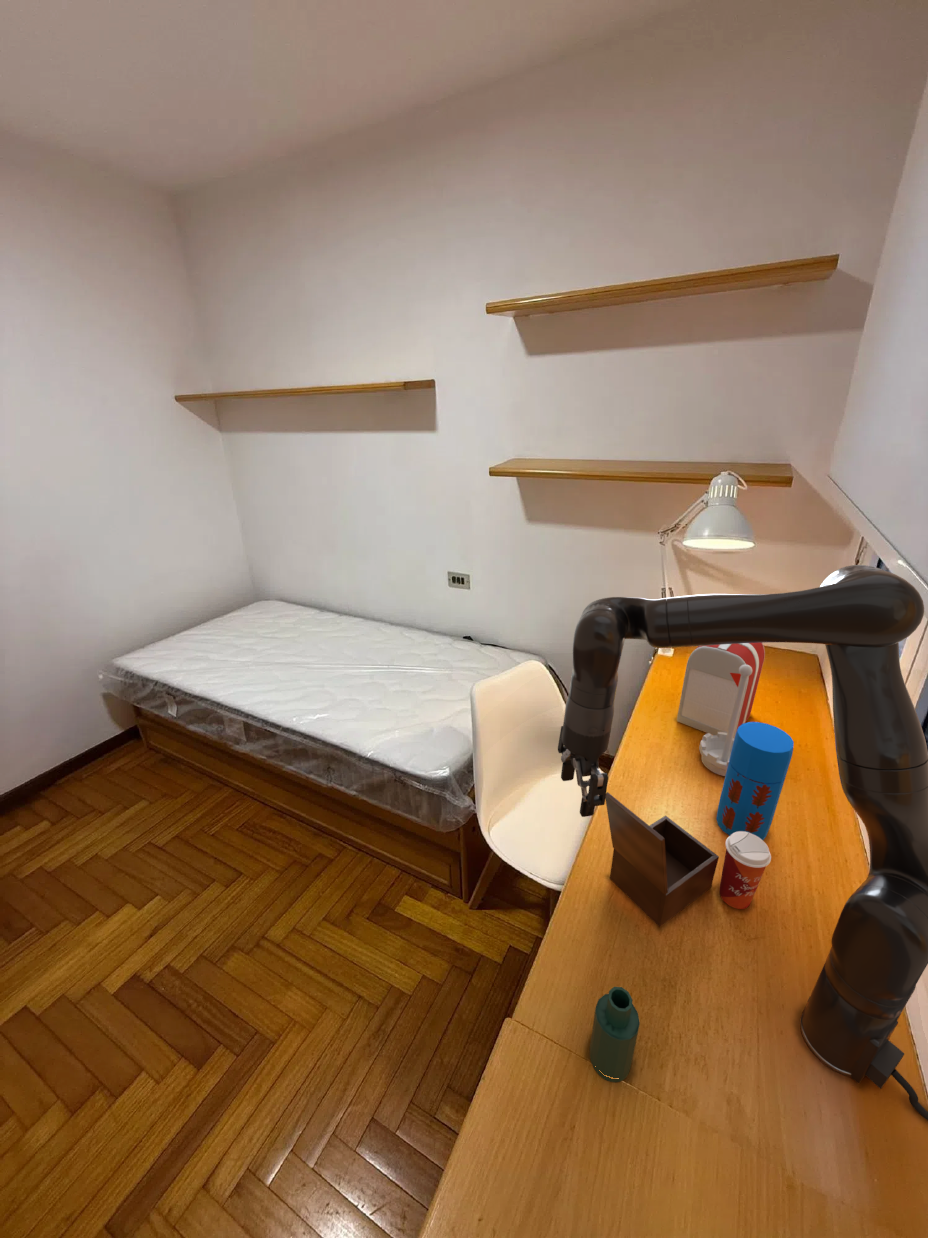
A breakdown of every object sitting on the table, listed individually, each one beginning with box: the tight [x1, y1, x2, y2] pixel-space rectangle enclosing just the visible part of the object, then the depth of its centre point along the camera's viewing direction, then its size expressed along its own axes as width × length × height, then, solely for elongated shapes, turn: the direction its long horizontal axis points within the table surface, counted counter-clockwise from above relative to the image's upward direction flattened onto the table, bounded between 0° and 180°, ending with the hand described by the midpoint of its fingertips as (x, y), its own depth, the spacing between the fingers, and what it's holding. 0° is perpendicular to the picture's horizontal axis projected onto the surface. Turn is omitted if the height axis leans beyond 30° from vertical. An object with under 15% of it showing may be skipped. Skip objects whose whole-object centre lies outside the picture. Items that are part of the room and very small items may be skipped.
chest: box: [609, 815, 720, 928], centre depth 104 cm, size 16×13×9 cm
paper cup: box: [718, 831, 772, 910], centre depth 100 cm, size 8×8×14 cm
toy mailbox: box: [676, 643, 766, 739], centre depth 151 cm, size 16×18×27 cm
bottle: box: [589, 986, 641, 1083], centre depth 75 cm, size 6×6×15 cm
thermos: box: [715, 721, 795, 841], centre depth 114 cm, size 11×11×25 cm
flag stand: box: [698, 665, 752, 777], centre depth 132 cm, size 13×13×30 cm
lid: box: [605, 791, 668, 895], centre depth 94 cm, size 16×13×1 cm
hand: (576, 796), depth 90 cm, fingers open, 8 cm apart
